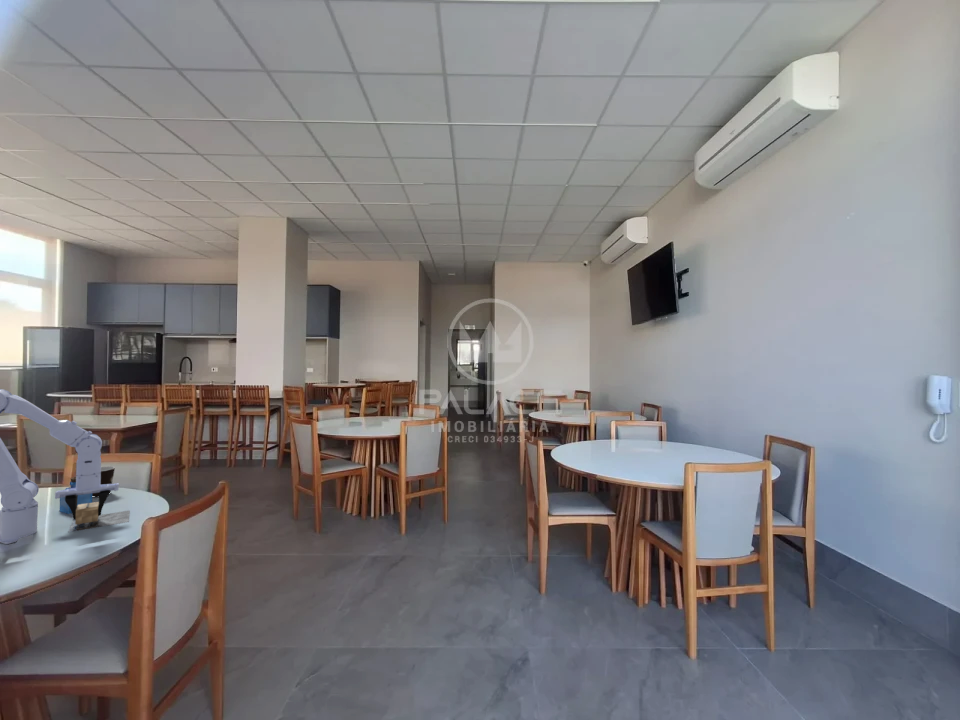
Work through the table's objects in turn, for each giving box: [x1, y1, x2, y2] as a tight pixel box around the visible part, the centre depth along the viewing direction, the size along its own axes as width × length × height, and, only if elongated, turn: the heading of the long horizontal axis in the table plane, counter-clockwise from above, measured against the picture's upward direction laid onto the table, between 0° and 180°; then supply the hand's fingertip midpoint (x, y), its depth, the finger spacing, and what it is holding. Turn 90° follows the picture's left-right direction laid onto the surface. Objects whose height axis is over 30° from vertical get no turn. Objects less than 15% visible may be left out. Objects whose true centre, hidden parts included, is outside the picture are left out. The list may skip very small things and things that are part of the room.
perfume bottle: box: [59, 476, 93, 515], centre depth 143 cm, size 6×6×12 cm
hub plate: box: [67, 509, 131, 533], centre depth 133 cm, size 14×13×4 cm
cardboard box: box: [75, 501, 99, 525], centre depth 131 cm, size 5×6×5 cm
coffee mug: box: [92, 465, 116, 496], centre depth 161 cm, size 12×9×10 cm
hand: (87, 516), depth 131 cm, fingers closed on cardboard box, 5 cm apart
